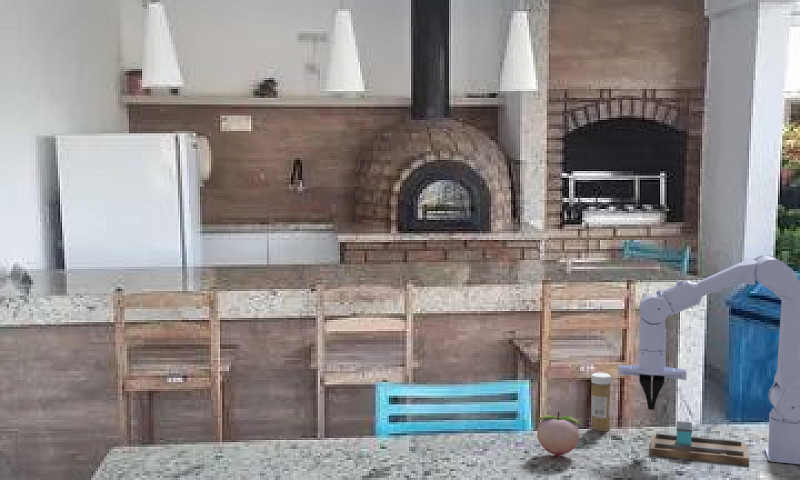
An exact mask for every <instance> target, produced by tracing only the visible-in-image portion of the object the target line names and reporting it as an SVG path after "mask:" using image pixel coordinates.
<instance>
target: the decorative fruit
mask: <svg viewBox="0 0 800 480" xmlns="http://www.w3.org/2000/svg"><path fill="white" fill-rule="evenodd" d="M538 421H540V422H539V424H538V425H537V426H538V427H537V431H536V436H537V440H538V442H539V444H540V446H541V447H542V448H543V449H544V450H545V451H547V452H548V453H549V454H552V455H555V456H557V457H560V456H562V455H566V454H569V453H570V452H571V451H573V450H574V449H575V448H576V446H577V444H578V443H579V438H580V432H579V427H578V425H581V423H580V421H579V420H578V419H577V418H574V417H572V416H569V415H563V416H560V412H559V411H557V416H556V415H551V414H547V415H543V416H540V417H539V418H538V419H536V422H538ZM577 424H578V425H577Z"/></svg>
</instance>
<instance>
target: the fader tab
mask: <svg viewBox="0 0 800 480" xmlns="http://www.w3.org/2000/svg"><path fill="white" fill-rule="evenodd" d="M692 424H693V423H692V422H691V421H690V422H688V421H679V420H676V435H677V444H680V445H691V436H693V435H692V433H693V425H692Z"/></svg>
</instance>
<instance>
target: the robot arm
mask: <svg viewBox="0 0 800 480" xmlns="http://www.w3.org/2000/svg"><path fill="white" fill-rule="evenodd" d="M755 281H756V282H758V283H759V285H761V286H762V287H764V288H766V289H768V290H769V291H771V292H772V293H774V294H775V296H777V297H778V298H779V299H780V300H781V301H780V302H781V303H780V304H781V305H780V317H779V319H780V320H779V335H778V337H779V338H778V353H777V370H776V373H775V375H774V381H773V384H772V386H771V387H770V389H769V390H768V391H769V392H768V400H769V403H770V404H771V405H772V406H773V407H772V408H771V411H770V412H769V413H768V415H769V416H768V418H769V419H768V420H769V421H768V446H767V447H764V452H765V455H766V458H767V461H768V462H771V463H782V464H790V465H791V464H792V465H793V464H794V465H800V280H799V278H798V277H797V275H796V273H795V271H794V270H793V268H791V267H790V266H789V265H787V264H786V263H784V262H783V261H781V260H779V259H778V258H776V257H775V256H773V255H770V254H762V255H761V254H760V255H759V256H757V257H755V258H748V259H745V260H743V261H741V262H739V263H735V264H733V265H732V266H730V267H727V268H725V269H723V270H721V271H719V272H717V273H714V274H712V275H710V276H708V277H706V278H703V279H701V280H699V281H697V282H695V281H691V280H684V281H683V280H682V279H680V280H678V281H677V280H676V282H675V283H676V284H675V285H673V286H671V287H668V288H665V289H663V290H660V289H658V290H656V291H655V293H656V294H648V295H645V296H644V297H643V298H642V299H641V300H640V302H639V305H638V311H639V313H640V316H641V317H640V320H639V326H640V327H639V331H638V332H639V333H638V334H639V335H638V339H639V343H638V349H639V350H638V364H634V365H633V364H627V365H626V364H625V365H623V364H619V365H618V369H617V371H618V372H617V373H618V376H632V377H633V376H636V377H639V378H638V380H639V383H640V385H641V388H642V390H643V392H644V396H645V399H646V403H647V410H652V411H655V409H656V402H657V399H658V397H659V396H658V395H660V394H659V393H660V392H661V390H662V387H663V386H664V384H665V379H675V380H676V379H678V380H682V381H687V369H685V368H684V369H683V368H676V367H669V366H668V367H667V366H666V363H667V362H666V361H667V360H666V358H667V357H666V356H667V329H666V319H667V318H668V316H673V315H675V314H678V313H680V312H681V313H682V312H683V311H685V310H688V309H690V308H693V307H696V306H697V305H700V303H701V300H702V299H703V296H707V295H709V294H713V293H714V292H715V293H716V292H718V291H720V290H723V289H725V288H728V287H731V286H734V285H737V284H744V285H745V284H746V285H751V286H755V285H756V282H755Z"/></svg>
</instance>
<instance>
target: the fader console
mask: <svg viewBox="0 0 800 480" xmlns="http://www.w3.org/2000/svg"><path fill="white" fill-rule="evenodd" d="M649 453H650V454H649V455H650V456H657V457H663V458H665V457H666V458H675V459H684V460H686V459H687V460H694V461H695V460H697V461H706V462H715V463H724V464H736V465H743V466H744V465H745V466H750V457H749V453H748V448H747V444H746V442H742V440H737V439H735V440H734V439H726V438H713V437H703V436H694V435H692V436H691V445H680V444H677V434H672V433H670V434H669V433H659V432H655V433H651V439H650V451H649Z"/></svg>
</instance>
